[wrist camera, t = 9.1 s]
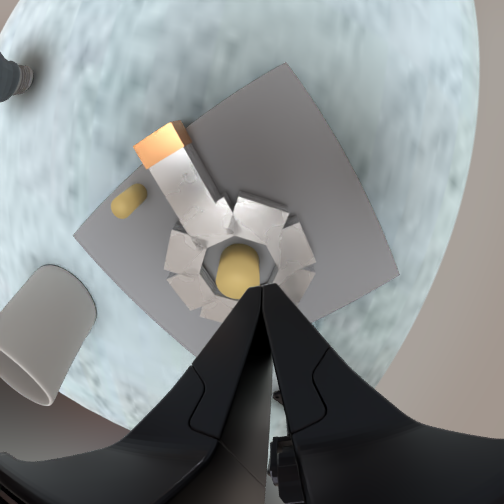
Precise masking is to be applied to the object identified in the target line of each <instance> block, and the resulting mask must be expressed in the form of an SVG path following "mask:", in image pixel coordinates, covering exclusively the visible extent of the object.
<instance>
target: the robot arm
mask: <svg viewBox="0 0 504 504" xmlns="http://www.w3.org/2000/svg"><path fill="white" fill-rule="evenodd" d="M273 363H274V367H275V372H276V376H277V380H278V385H279V389H280V392H277V393H274V394H273V398H274V399H275V400H276V401H278V402H279V403H281V404H282V405H283V406H284V410H285V415H286V423H287V436H284V437H273V442H271V443H270V459H269V464H268V469H267V461H268V445H269V429H270V411H271V391H272V369H273ZM266 474H268V475H269V476H271V477H272V480H273V483H274V485H275V486H278V487H279V497H280V498H281V499H282V501H283V502H284V503H285V504H504V439H494V438H487V437H481V436H475V435H470V434H464V433H459V432H454V431H449V430H445V429H441V428H436V427H432V426H428V425H425V424H422V423H420V422H417V421H415V420H413V419H412V418H410V417H408V416H407V415H406V414H404V413H403V412H402V411H400V410H399V409H398V408H397V407H395V406H394V405H393V404H392V403H391V402H389V401H388V400H387V399H386V398H384V397H383V396H382V395H381V394H380V393H379V392H377V391H376V390H375V389H374V388H373V387H371V386H370V385H369V384H368V383H367V382H366V381H364V380H363V379H362V378H361V377H360V376H359V375H358V374H357V373H356V372H355V371H353V370H352V369H351V368H350V367H349V366H348V364H347V363H346V362H345V361H344V360H343V359H342V358H341V357H340V356H339V355H338V354H337V352H336V351H335V350H334V349H333V348H332V347H331V346H330V345H329V343H328V342H327V341H326V340H325V339H324V338H323V336H322V335H321V334H320V333H319V332H318V331H317V329H316V328H315V327H314V326H313V325H312V324H311V322H310V321H309V320H308V319H307V318H306V317H305V316H304V314H303V313H302V312H301V311H300V310H299V309H298V307H297V306H296V305H295V304H294V303H293V302H292V300H291V299H290V298H289V297H288V296H287V295H286V293H285V292H284V291H283V290H282V289H281V288H280V286H279V285H278V284H277V283H272V284H266V285H263V287H262V286H254V287H249V288H248V289H247V290H246V291H245V293H244V294H243V295H242V297H241V298H240V299H239V301H238V302H237V304H236V305H235V306H234V308H233V309H232V310H231V312H230V313H229V314H228V316H227V317H226V318H225V320H224V321H223V323H222V324H221V325H220V327H219V328H218V329H217V331H216V332H215V333H214V335H213V336H212V337H211V339H210V340H209V341H208V343H207V344H206V345H205V347H204V348H203V349H202V351H201V352H200V353H199V355H198V356H197V357H196V359H195V360H194V361H193V363H192V365H191V366H189V368H188V369H187V370H186V372H185V373H184V374H183V376H182V377H181V378H180V379H179V380H178V382H177V383H176V384H175V385H174V387H173V388H172V389H171V390H170V391H169V392H168V393H167V395H166V396H165V397H164V398H163V399H162V400H161V401H160V402H159V403H158V404H157V405H156V406H155V407H154V408H153V409H152V410H151V411H150V412H149V413H148V414H147V415H146V416H145V417H144V418H143V419H142V420H141V421H140V422H139V423H138V424H137V425H136V426H135V427H134V428H133V429H132V430H131V431H130V433H128V434H127V435H126V436H125V437H124V438H122V439H121V440H120V441H118V442H117V443H115V444H113V445H111V446H108V447H106V448H103V449H99V450H95V451H91V452H87V453H82V454H77V455H73V456H68V457H63V458H57V459H51V460H45V461H37V462H27V461H21V460H18V459H16V458H15V457H13V456H11V455H10V454H8V453H7V452H1V453H0V504H264V501H265V486H266Z"/></svg>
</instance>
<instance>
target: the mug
mask: <svg viewBox="0 0 504 504" xmlns="http://www.w3.org/2000/svg"><path fill="white" fill-rule="evenodd" d="M95 319H96V309H95V305H94V302H93V300H92V298H91V296H90V294H89V292H88V291H87V289H86V288H85V287H84V286H83V284H82V283H81V282H80V281H79V280H78V279H77V278H76V277H75V276H73V275H72V274H71V273H69V272H68V271H66V270H64V269H62V268H60V267H57V266H53V265H45V266H42V267H40V268H39V269H38V270H36V271H35V273H34V274H33V275H32V276H31V277H30V278H29V279H28V280H27V282H26V283H25V284H24V285H23V286H22V287H21V289H20V290H19V291H18V292H17V293H16V294H15V295H14V297H13V298H12V299H11V300H10V301H9V302H8V304H7V305H6V306H5V307H4V308H3V310H2V311H1V312H0V377H1V378H2V379H3V380H4V381H5V382H6V383H8V384H9V385H10V386H11V387H12V388H13V389H15V390H16V391H17V392H19V393H20V394H22V395H23V396H25V397H26V398H28V399H30V400H31V401H33V402H36V403H38V404H41V405H45V406H49V405H51V404H52V403H53V402H54V400H55V398H56V395H57V393H58V391H59V389H60V387H61V385H62V383H63V381H64V379H65V376H66V374H67V372H68V370H69V368H70V366H71V364H72V363H73V361H74V359H75V357H76V355H77V353H78V351H79V349H80V347H81V345H82V344H83V342H84V340H85V338H86V337H87V335H88V333H89V332H90V330H91V328H92V327H93V325H94V322H95Z"/></svg>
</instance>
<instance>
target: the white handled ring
mask: <svg viewBox="0 0 504 504" xmlns="http://www.w3.org/2000/svg"><path fill="white" fill-rule="evenodd" d="M191 142H192V140H191V138H190V136H189V134H188V133H187V131H186V129H185V127H184V126H183V124H182V122H181V120H178V121H173V122H170V123H168V124H166V125H165V126H163V127H162V128H160V129H158V130H157V131H155V132H154V133H152V134H151V135H149V136H148V137H146V138H145V139H143V140H142V141H140V142H139V143H137V144H136V145H134V146H133V147H134V149H135V151H136V153H137V154H138V156H139V158H140V160H141V161H142V163H143V165H144V166H145V168H146V170H147V169H149V170H150V172H151V174H152V175H153V177H154V179H155V180H156V182H157V184H158V185H159V187H160V189H161V190H162V192H163V194H164V195H165V197H166V199H167V200H168V202H169V203H170V205H171V207H172V208H173V210H174V212H175V213H176V215H177V216H178V218H179V221H180V222H181V223H178V222H176V223H175V225H174V227H173V228H172V231H171V235H170V240H169V245H168V250H167V255H166V260H165V265H164V270H167V271H170V273H169V275H168V277H167V279H166V280H167V281H168V282H169V284H170V285H171V286H172V288H173V289H174V290H175V292H176V293H177V294H178V296H179V297H180V298H181V299H182V301H183V302H184V303H185V305H186V306H187V307H188V308H189V310H190V311H191V310H194V309H197V308H199V307H202V308H201V313H200V317H203V318H206V319H210V320H214V321H217V322H221V323H223V321H224V320H225V318H226V317H227V316H228V314H229V313H230V312H231V310H232V309H233V308H234V306H235V305H236V304H237V302H238V301H239V299H233V298H229V297H227V296H225V295H224V294H222V293H221V292H220V291H219V289H218V288H217V285H216V284H215V282H214V281H213V280H212V278H211V277H210V275H209V274H208V272H207V271H206V269H205V268H204V266H203V265H202V263H203V259H204V256H205V252H206V249H207V248H208V247H210V246H213V245H215V244H217V243H219V242H222V241H224V240H226V239H228V238H230V237H233V236H238V237H241V238H244V239H248V240H251V241H254V242H257V243H261V244H264V245H266V246H267V248H268V250H269V252H270V254H271V256H272V257H273V259H274V261H275V263H276V265H275V267H274V270H273V272H272V274H271V276H270V278H269V281H268V283H266V284H272V283H277V284H278V285H279V286H280V288H281V289H282V290H283V291H284V292H285V293H286V295H287V296H288V297H289V298H290V299H291V300H292V302H293V303H294V304H295V305H296V306H298V304H299V302H300V300H301V298H302V297H303V295H304V293H305V291H306V290H307V288H308V286H309V284H310V282H311V281H312V279H313V277H314V275H315V270H314V267H313V263H316V260H315V257H314V254H313V252H312V249H311V247H310V245H309V242H308V240H307V238H306V235H305V233H304V231H303V229H302V226H301V224H300V222H299V219H298V217H297V215H295V216H293V217H291V218H288V219H287V217H288V215H289V211H288V208H287V206H284V205H281V204H278V203H275V202H272V201H269V200H266V199H263V198H260V197H257V196H254V195H251V194H248V193H245V192H242V191H239V194H238V197H237V200H236V203H235V205H234V206H233V204H232V202H231V200H230V198H229V197H228V195H227V193H226V192H224V193H222V194H220V193H219V191H218V190H217V188H216V186H215V184H214V182H213V181H212V179H211V177H210V175H209V173H208V172H207V170H206V168H205V166H204V165H203V163H202V161H201V159H200V157H199V156H198V154H197V152H196V150H195V148H194V147H193V145H192V143H191ZM266 284H264V285H266ZM261 286H262V287H263V285H261Z"/></svg>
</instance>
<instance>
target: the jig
mask: <svg viewBox="0 0 504 504" xmlns="http://www.w3.org/2000/svg"><path fill="white" fill-rule="evenodd" d="M185 129H186V131H187V133H188V134H189V136H190V138H191V140H192V142H191V143H192V145H193V147H194V148H195V150H196V152H197V154H198V156H199V157H200V159H201V161H202V163H203V165H204V166H205V168H206V170H207V172H208V173H209V175H210V177H211V179H212V181H213V182H214V184H215V186H216V188H217V190H218V191H219V193H220V194H222V193H224V192H226V193H227V195H228V197H229V198H230V200H231V202H232V204H233V206H234V205H235V203H236V200H237V197H238V194H239V191H242V192H245V193H248V194H251V195H254V196H257V197H260V198H263V199H266V200H269V201H272V202H275V203H278V204H281V205H284V206H287V208H288V211H289V215H288V217H287V219H288V218H291V217H293V216H295V215H297V217H298V219H299V222H300V224H301V226H302V229H303V231H304V233H305V235H306V238H307V240H308V242H309V245H310V247H311V249H312V252H313V254H314V257H315V260H316V263H313V267H314V270H315V275H314V277H313V279H312V281H311V282H310V284H309V286H308V288H307V290H306V291H305V293H304V295H303V297H302V298H301V300H300V302H299V304H298V306H297V307H298V309H299V310H300V311H301V312H302V313H303V314H304V316H305V317H306V318H307V319H308V320H309V321H310V322H311V323H312V322H314V321H316V320H318V319H320V318H322V317H324V316H326V315H328V314H330V313H332V312H334V311H336V310H338V309H340V308H342V307H344V306H346V305H347V304H349V303H351V302H353V301H355V300H357V299H359V298H360V297H362V296H364V295H366V294H368V293H369V292H371V291H373V290H375V289H376V288H378V287H380V286H382V285H383V284H385V283H387V282H389V281H390V280H392V279H394V278H395V277H397V276H399V275H400V274H399V271H398V269H397V266H396V263H395V261H394V258H393V255H392V253H391V250H390V248H389V245H388V243H387V240H386V238H385V235H384V233H383V231H382V228H381V226H380V224H379V221H378V219H377V217H376V215H375V213H374V210H373V208H372V206H371V204H370V202H369V200H368V197H367V195H366V193H365V191H364V189H363V187H362V185H361V183H360V181H359V179H358V177H357V175H356V173H355V171H354V169H353V168H352V166H351V164H350V162H349V160H348V158H347V156H346V155H345V153H344V151H343V149H342V147H341V146H340V144H339V142H338V140H337V139H336V137H335V135H334V133H333V132H332V130H331V128H330V127H329V125H328V123H327V122H326V120H325V118H324V117H323V115H322V114H321V112H320V110H319V109H318V107H317V106H316V104H315V103H314V101H313V100H312V98H311V97H310V95H309V94H308V92H307V91H306V89H305V88H304V86H303V85H302V83H301V82H300V80H299V79H298V78H297V76H296V75H295V73H294V72H293V71H292V69H291V68H290V66H289V65H288V64H287V62H285V63H283V64H282V65H280V66H278V67H276V68H275V69H273V70H271V71H269V72H268V73H266V74H264V75H263V76H261V77H259V78H258V79H256V80H254V81H253V82H251V83H249V84H248V85H246V86H245V87H243V88H242V89H240V90H238V91H237V92H235V93H234V94H232V95H231V96H229V97H228V98H226V99H225V100H223V101H222V102H221V103H219V104H218V105H216V106H215V107H213V108H212V109H211V110H209V111H208V112H206V113H205V114H204V115H202V116H201V117H200V118H198V119H197V120H196V121H194V122H193V123H192V124H190V125H189V126H188V127H186V128H185ZM176 222H178V223H181V222H180V221H179V218H178V216H177V215H176V213H175V212H174V210H173V208H172V207H171V205H170V203H169V202H168V200H167V199H166V197H165V195H164V194H163V192H162V190H161V189H160V187H159V185H158V184H157V182H156V180H155V179H154V177H153V175H152V174H151V172H150V170H149V169H147V170H146V168H145V166H144V165H143V164H142V165H141V166H140V167H139V168H138V169H137V170H136V171H134V172H133V173H132V174H131V175H130V176H129V177H128V178H127V179H126V180H125V181H124V182H123V183H122V184H121V185H120V186H119V187H118V188H117V189H116V190H115V191H114V192H113V193H112V194H111V195H110V196H109V197H108V198H107V199H106V200H105V201H104V202H103V203H102V204H101V205H100V206H99V207H98V208H97V209H96V210H95V211H94V212H93V213H92V214H91V215H90V217H89V218H88V219H87V220H86V221H85V222H84V223H83V224H82V225H81V227H80V228H79V229H78V230H77V231H76V232H75V233H74V235H73V237H74V238H75V239H76V240H77V241H78V242H79V244H80V245H81V246H82V247H83V248H84V249H85V251H86V252H87V253H88V254H89V255H90V256H91V257H92V258H93V260H94V261H95V262H96V263H97V264H98V265H99V266H100V267H101V268H102V269H103V271H104V272H105V273H106V274H107V275H108V276H109V277H110V278H111V279H112V280H113V281H114V282H115V283H116V284H117V285H118V286H119V287H120V288H121V289H122V290H123V291H124V292H125V293H126V294H127V295H128V296H129V297H130V298H131V299H132V300H133V301H134V302H135V303H136V304H137V305H138V306H139V307H140V308H141V309H142V310H143V311H144V312H145V313H146V314H148V315H149V316H150V317H151V318H152V319H153V320H154V321H155V322H156V323H157V324H158V325H160V326H161V327H162V328H163V329H164V330H165V331H166V332H167V333H169V334H170V335H171V336H172V337H173V338H174V339H175V340H177V341H178V342H179V343H180V344H181V345H182V346H184V347H185V348H186V349H187V350H188V351H190V352H191V353H192V354H193V355H195V356H196V357H197V356H198V355H199V353H200V352H201V351H202V349H203V348H204V347H205V345H206V344H207V343H208V341H209V340H210V339H211V337H212V336H213V335H214V333H215V332H216V331H217V329H218V328H219V327H220V325H221V324H222V323H221V322H217V321H214V320H210V319H206V318H203V317H200V313H201V308H202V307H199V308H197V309H194V310H191V311H190V310H189V308H188V307H187V306H186V305H185V303H184V302H183V301H182V299H181V298H180V297H179V296H178V294H177V293H176V292H175V290H174V289H173V288H172V286H171V285H170V284H169V282H168V281H167V280H166V279H167V277H168V275H169V273H170V271H167V270H164V265H165V260H166V255H167V250H168V245H169V240H170V235H171V231H172V228H173V227H174V225H175V223H176ZM202 265H203V266H204V268H205V269H206V271H207V272H208V274H209V275H210V277H211V278H212V280H213V281H214V282H215V284H216V285H217V288H218V289H219V291H220V292H221V293H222V294H224V295H225V296H227V297H229V298H233V299H240V298H241V297H242V295H243V294H244V293H245V291H246V290H247V289H248V288H249V287H254V286H261V285H264V284H266V283H268V281H269V278H270V276H271V274H272V272H273V270H274V267H275V265H276V263H275V261H274V259H273V257H272V256H271V254H270V252H269V250H268V248H267V246H266V245H264V244H261V243H257V242H254V241H251V240H248V239H244V238H241V237H238V236H233V237H230V238H228V239H226V240H224V241H222V242H219V243H217V244H215V245H213V246H210V247H208V248H207V249H206V252H205V256H204V259H203V263H202Z"/></svg>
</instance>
